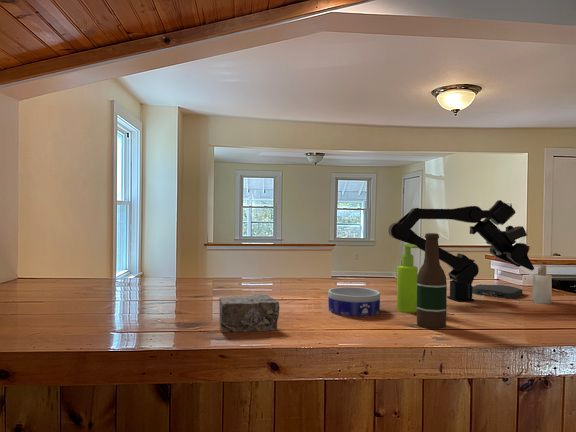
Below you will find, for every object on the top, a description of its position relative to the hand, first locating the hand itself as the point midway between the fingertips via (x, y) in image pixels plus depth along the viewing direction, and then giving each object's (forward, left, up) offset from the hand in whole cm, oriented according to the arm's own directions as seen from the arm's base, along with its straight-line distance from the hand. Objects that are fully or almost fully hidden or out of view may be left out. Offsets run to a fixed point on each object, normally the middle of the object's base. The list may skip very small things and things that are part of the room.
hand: (526, 267), depth 137 cm
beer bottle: (-48, -22, -11) cm, 54 cm away
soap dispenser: (-46, -6, -11) cm, 48 cm away
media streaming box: (0, +13, -12) cm, 18 cm away
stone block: (-95, -15, -12) cm, 97 cm away
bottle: (+5, -2, -11) cm, 12 cm away
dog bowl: (-62, -3, -12) cm, 63 cm away
